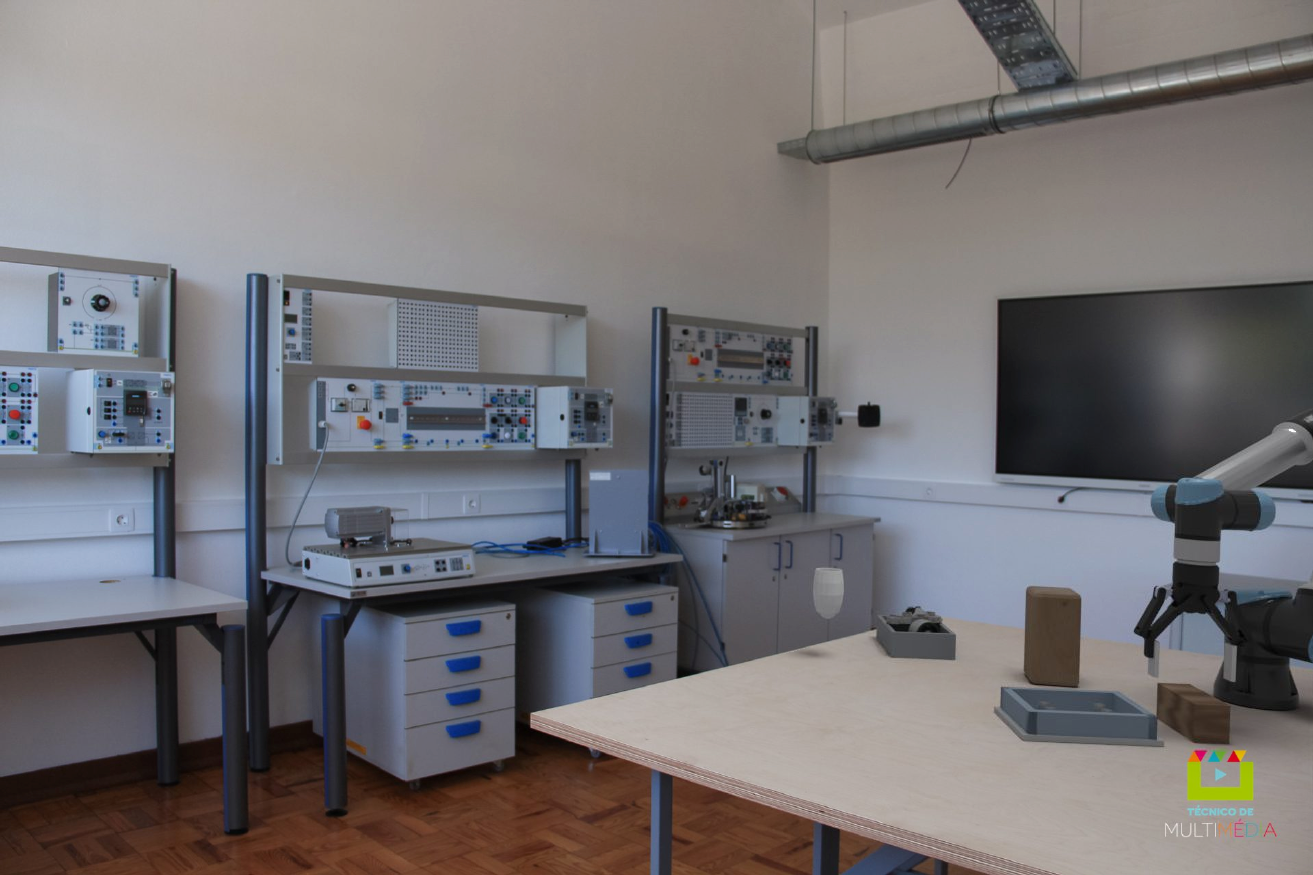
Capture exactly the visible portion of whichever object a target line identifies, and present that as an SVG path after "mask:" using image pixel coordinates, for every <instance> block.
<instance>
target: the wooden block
mask: <svg viewBox="0 0 1313 875" xmlns="http://www.w3.org/2000/svg"><path fill="white" fill-rule="evenodd" d="M1024 609H1025V612H1024V616H1025V618H1024V644H1023V645H1024V649H1023V652H1024V654H1023V672H1024V674H1025V676H1026V677H1027V679H1028V680H1029V682H1030V683H1031V684H1033V685H1043V686H1056V687H1057V686H1058V687H1069V688H1070V687H1072V688H1075V687H1078V686H1079V684H1080V672H1081V671H1080V670H1081V669H1080V668H1081V667H1080V665H1081V632H1082V631H1081V630H1082V629H1081V628H1082V596H1081V594H1080V593H1078V592H1077V591H1076V590H1074V589H1072V588H1070V587H1060V586H1059V587H1058V586H1056V587H1055V586H1042V585H1041V586H1038V585H1030V586H1027V588H1026V589H1025V608H1024Z"/></svg>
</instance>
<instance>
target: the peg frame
mask: <svg viewBox="0 0 1313 875" xmlns="http://www.w3.org/2000/svg"><path fill="white" fill-rule="evenodd" d="M999 703H1000V704H999V705H1000V706H999V705H996V706H993V708H994V709H993V712H994V713H995V714H996V715H997V716H998V717H999V718H1000V719H1001V720H1002V721H1003V722H1004V723H1005V724H1006V725H1007V726H1008V727H1009V728H1010V729H1011V730H1012V731H1013V732H1014V733H1015V734H1016V735H1017V736H1018V737H1019V738H1020V739H1021V740H1022V741H1024V742H1025V741H1026V742H1028V741H1029V742H1046V743H1048V742H1049V743H1070V744H1072V743H1073V744H1093V745H1094V744H1095V745H1115V746H1116V745H1117V746H1119V745H1120V746H1138V747H1139V746H1140V747H1141V746H1142V747H1165V740H1164V739H1162V738H1161V737H1159V736H1158V722H1159V721H1158V717H1157V716H1156V715H1155V714H1154V713H1153V712H1151V711H1149V710H1148V709H1146V708H1145V707H1144V706H1142V705H1141V704H1139V703H1137V702H1136V701H1134V700H1133V699H1131V698H1129V697H1128V696H1127V695H1124V694H1123V693H1122V692H1120V691H1118V690H1100V689H1099V690H1097V689H1078V688H1077V689H1076V688H1075V689H1071V688H1053V687H1051V688H1049V687H1026V686H1025V687H1024V686H1023V687H1021V686H1019V687H1018V686H1000V702H999Z"/></svg>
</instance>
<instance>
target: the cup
mask: <svg viewBox="0 0 1313 875" xmlns="http://www.w3.org/2000/svg"><path fill="white" fill-rule="evenodd" d="M812 582H813V584H812V586H813V587H812V596H813V604H814V608H815V610H816V612H817V613H819V615H820V616H821V618H824V619H826V620H830V619H832V618H835V616H836V615H837V614H839V613H840V611H841V608H842V606H843V601H844V594H845V591H844V590H845V587H844V586H845V581H844V573H843V570H842V569H841V568H836V567H835V568H834V567H817V568H815V571H814V576H813V581H812Z"/></svg>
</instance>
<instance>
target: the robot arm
mask: <svg viewBox="0 0 1313 875" xmlns="http://www.w3.org/2000/svg"><path fill="white" fill-rule="evenodd" d="M1311 462H1313V407H1312V408H1310V409H1307V410H1304V411H1302V412H1301V413H1298V414H1296V415H1294V416H1292V417H1290V418H1288V419H1286V420H1285V421H1282V422H1281V423H1279V424H1277V425H1276V426H1274V428H1273V429H1272V432H1271V434H1269V435H1268V436H1266V437H1264V438H1262V439H1261V440H1259V441H1257V442H1255V443H1254V444H1251V445H1250V446H1248V447H1246V448H1244V449H1242V450H1240V451H1238V452H1237V453H1235V454H1233V455H1232V456H1230V457H1228V458H1225V459H1224V460H1222V461H1220V462H1219V463H1217V464H1216V465H1214V466H1212V467H1210V468H1208V469H1206V470H1205V471H1203V472H1200V473H1198V474H1197V475H1195V476H1194V477H1183V478H1180V479H1179V480H1178V481H1177V484H1173V483H1172V484H1162V485H1160V486H1157V488H1156V489H1155V490H1153V492H1152V494H1151V497H1150V508H1151V511H1152V514H1153V515H1154V516H1155V517H1156V518H1157V519H1159V521H1163V522H1169V523H1172V524H1174V535H1173V536H1174V537H1173V553H1172V555H1173V556H1172V557H1173V559H1174V560H1176V561H1174V562H1173V563H1172V572H1171V576H1172V577H1171V579H1172V580H1171V582H1172V585H1171V587H1170V588H1166V587H1162V586H1160V585H1155V586H1154V588H1153V592H1152V597H1151V599H1150V601H1149V602H1148V604H1147V606H1146V608H1145V609H1144V611H1143V613H1142V615H1141V616H1140V619H1139V620H1138V622H1137V623H1136V625H1135V627H1134V629H1133V633H1134V635H1137V636H1139V637H1141V638H1143V640H1144V643H1143V655H1144V657H1146V658H1147V659H1148V660H1147V675H1149V676H1151V677H1152V678H1156V679H1157V678H1159V675H1160V674H1159V673H1160V672H1159V669H1160V653H1161V651H1160V650H1161V649H1160V646H1161V642H1160V641H1159V640H1156V639H1157V638H1158V637H1160V636H1161V634H1163V632H1164V631H1166V629H1167V628H1168V627H1169V626H1170V625H1171V624H1172V623H1173V622H1174V621H1175V620H1176V618H1178V617H1179V616H1182V614H1183V613H1186V614H1200V615H1206V614H1207V615H1208V616H1209V617H1210V618H1211V619H1212V621H1213V622H1214V623H1215V625H1216V626H1217V627H1218V628H1219V630H1220V631H1221V632H1222V633H1223V635H1224V636H1223V637H1224V638H1223V642H1224V643H1223V644H1224V645H1223V648H1224V649H1223V650H1224V651H1223V660H1222V662H1221V666H1220V667H1219V671H1218V673H1217V675H1216V677H1215V680H1214V683H1213V690H1212V691H1213V692H1212V694H1213V695H1212V696H1213V697H1215V698H1217V699H1219V700H1221V701H1223V702H1228V703H1231V704H1235V705H1238V706H1241V707H1247V708H1248V707H1249V708H1256V709H1263V710H1276V711H1278V710H1279V711H1285V710H1286V711H1287V710H1294V709H1297V708H1299V706H1300V694H1299V692H1298V689H1297V685H1296V682H1295V679H1294V676H1293V673H1292V669H1291V659H1293V660H1297V661H1301V662H1305V663H1310V664H1313V570H1312V572H1311V575H1310V579H1309V581H1308V582H1307V583H1305V584H1303V585H1299V586H1298V587H1297V589H1296V593H1295V596H1294V595H1293V594H1292V591H1291V590H1290V589H1286V588H1236V589H1232V590H1231V589H1227V588H1226V589H1224V590H1219V588H1218V587H1219V584H1220V567H1219V565H1218V564H1217V563H1219V562H1220V561H1221V542H1222V541H1221V539H1222V537H1221V536H1222V531H1243V532H1254V531H1262V530H1265V529H1267V528H1270V526H1271V525H1272V524H1273V523H1274V521H1275V519H1276V515H1277V514H1276V513H1277V511H1276V510H1277V507H1276V504H1275V502H1274V500H1273V499H1272V497H1271V496H1270V495H1268V494H1267V493H1265V492H1263V491H1259V490H1253V489H1255V488H1257V487H1258V486H1259V485H1262V484H1263V483H1265V482H1267V481H1269V480H1270V479H1272V478H1274V477H1276V476H1277V475H1280V474H1281V473H1283V472H1285V471H1287V470H1289V469H1290V468H1292V467H1294V466H1295V465H1296V466H1305V465H1307V464H1309V463H1311ZM1169 597H1171V599H1172V600H1173V601H1171V603H1170V604H1169V605H1168V606H1166V607H1167V608H1166V609H1165V611H1164V612H1163V613H1162V614H1161V615H1160V616H1159V617H1158V618H1157V616H1158V614H1159V613H1160V611H1161V609H1162V607H1163V605H1164V603H1165V600H1167V599H1168V598H1169ZM1219 600H1221V602H1223V603H1224V605H1225V607H1224V608H1223V610H1224V615H1223V614H1222V611H1221V610H1220V609H1219V607H1217V605H1216V603H1217V602H1219ZM1156 618H1157V619H1156ZM1155 619H1156V620H1155Z"/></svg>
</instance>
